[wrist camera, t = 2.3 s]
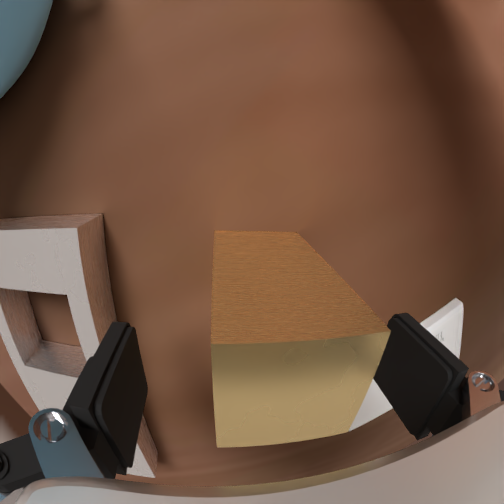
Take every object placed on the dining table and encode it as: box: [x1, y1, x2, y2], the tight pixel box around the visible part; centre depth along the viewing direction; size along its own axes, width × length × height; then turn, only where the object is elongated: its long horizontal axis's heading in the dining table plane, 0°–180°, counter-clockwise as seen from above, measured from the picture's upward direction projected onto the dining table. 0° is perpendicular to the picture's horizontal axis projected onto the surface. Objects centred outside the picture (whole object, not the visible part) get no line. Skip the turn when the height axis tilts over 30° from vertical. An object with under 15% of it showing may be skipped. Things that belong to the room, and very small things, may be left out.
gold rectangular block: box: [211, 230, 391, 447], centre depth 11 cm, size 4×4×9 cm
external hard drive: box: [349, 298, 464, 431], centre depth 19 cm, size 2×8×12 cm
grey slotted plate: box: [0, 214, 158, 478], centre depth 14 cm, size 22×8×3 cm, turn 177°
